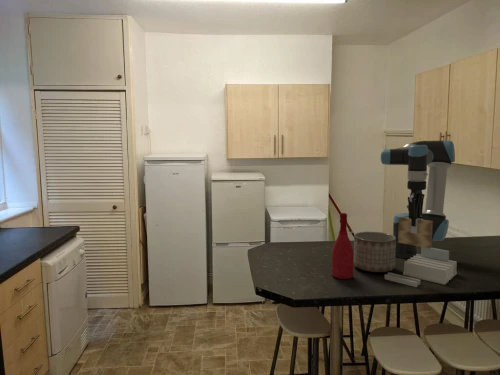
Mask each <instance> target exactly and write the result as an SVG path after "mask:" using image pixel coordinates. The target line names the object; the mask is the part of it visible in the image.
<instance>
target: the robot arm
mask: <svg viewBox="0 0 500 375" xmlns="http://www.w3.org/2000/svg"><path fill="white" fill-rule="evenodd" d="M455 150H456V149H455V146H454V143H453V141H452V140H420V141H414V142H411V143H407V144H405V145H404V146H402V147H397V148H386V149H382V151H381V154H380V161H381V164H382V165H387V166H407V183H406V184H407V186H406V187H407V190H410V193H409V195H410V196H407V202H408V212H401V213H397V214H395V215H394V216H393V223H392V225H393V226H392V235H393V236H395V237H396V248H395V258H401V259H410V258H411V257H412V258H413V256H416V254H420V253H419V248H418V246H414V245H409V244H404V243H398V228H399V217H400V216H401V217H408V218H409V219H411V231H410V233H415V234H417V227H418V219H423V220H430V221H433V226H432V242H433V241H436V242H438V241H439V242H442V241H444V240H445V239H446V237H447V233H448V230H449V224H450V221H449V220H448V219H447V216H446V214H445V213H444V207H445V206H444V204H445V197H446V185H447V174H448V169H449V168H451V166H452V163H453V164H454V163H455V162H456V152H455ZM428 168H429V170H428ZM427 176H428V180H427ZM426 180H427V181H426ZM425 190H426V198H425V194H424V193H423V191H425ZM424 199H425V207H424ZM423 208H424V209H423ZM423 210H424V211H423Z"/></svg>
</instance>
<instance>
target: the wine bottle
mask: <svg viewBox="0 0 500 375" xmlns="http://www.w3.org/2000/svg"><path fill="white" fill-rule="evenodd" d="M347 223H348V214H347V213H345V212H342V213H341V212H340V213H339V224H340V228H339V232H338V234H337V235H338V236H337V238H336V240H335V241H334V245H333V247H332V250H331V275H332V276H333V277H334V278H336V279H340V280H348V279H351V278H353V275H354V247H353V245H352V243H351V240H350V237H349V235H348V234H349V233H348V231H347Z"/></svg>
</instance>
